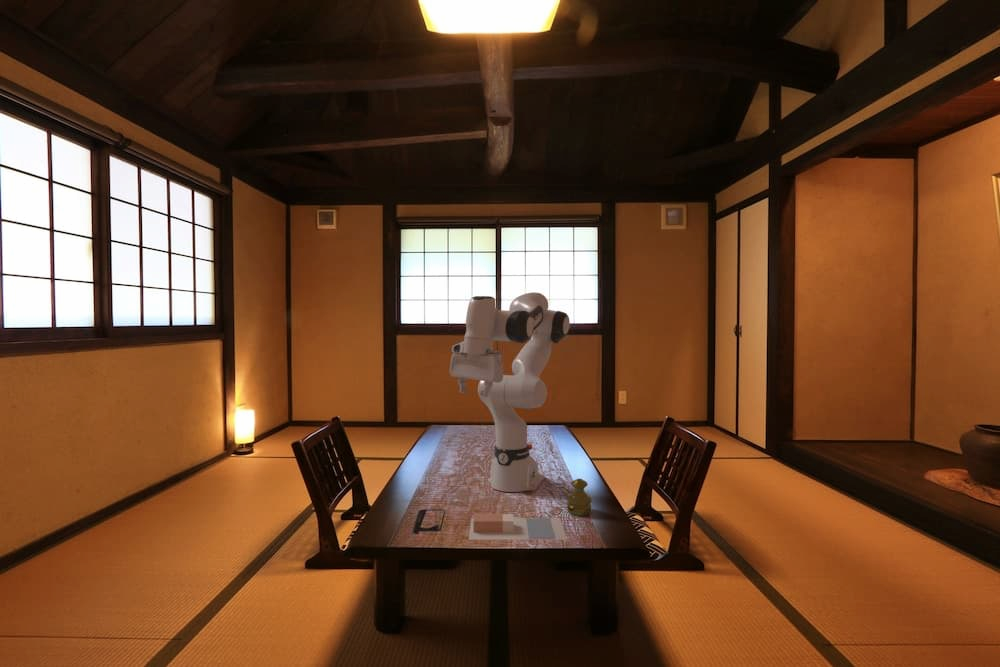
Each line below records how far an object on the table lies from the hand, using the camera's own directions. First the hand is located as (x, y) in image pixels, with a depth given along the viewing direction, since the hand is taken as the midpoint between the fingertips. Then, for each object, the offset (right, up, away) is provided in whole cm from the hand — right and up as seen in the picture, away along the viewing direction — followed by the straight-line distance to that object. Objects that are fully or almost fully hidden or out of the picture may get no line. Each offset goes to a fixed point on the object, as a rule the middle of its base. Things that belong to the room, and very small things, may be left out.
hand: (473, 394), depth 147 cm
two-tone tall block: (+6, -36, -10) cm, 38 cm away
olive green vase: (+32, -36, +4) cm, 49 cm away
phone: (-13, -37, -4) cm, 39 cm away
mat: (+13, -37, -10) cm, 40 cm away
